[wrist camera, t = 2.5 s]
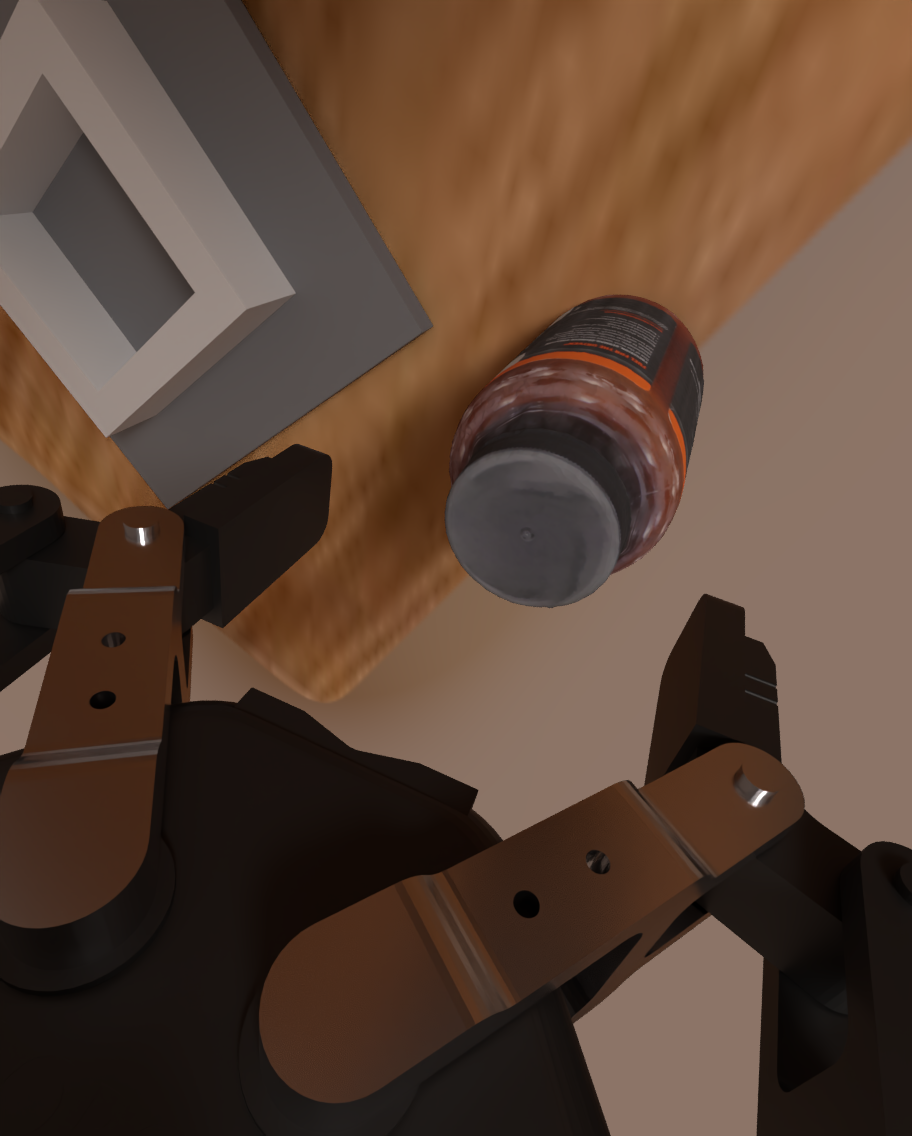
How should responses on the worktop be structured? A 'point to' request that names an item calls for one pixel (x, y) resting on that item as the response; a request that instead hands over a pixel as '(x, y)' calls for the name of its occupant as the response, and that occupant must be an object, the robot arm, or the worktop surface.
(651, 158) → the worktop surface
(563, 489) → the supplement bottle
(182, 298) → the collar plate
